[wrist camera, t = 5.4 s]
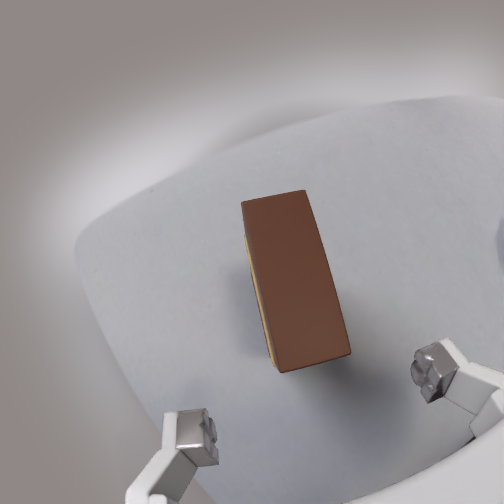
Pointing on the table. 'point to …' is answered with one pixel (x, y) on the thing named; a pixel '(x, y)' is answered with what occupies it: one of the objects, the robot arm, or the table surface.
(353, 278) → the table surface
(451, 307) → the table surface
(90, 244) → the table surface
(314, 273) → the chocolate bar
